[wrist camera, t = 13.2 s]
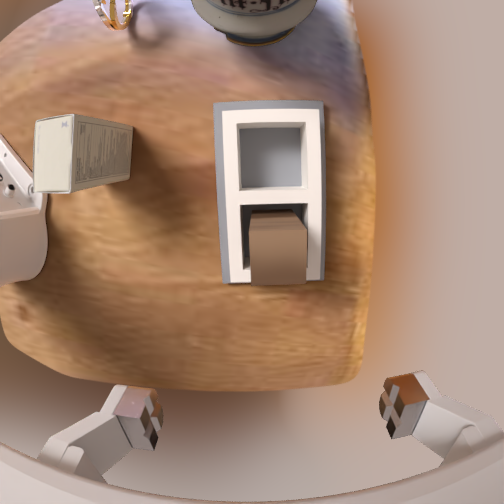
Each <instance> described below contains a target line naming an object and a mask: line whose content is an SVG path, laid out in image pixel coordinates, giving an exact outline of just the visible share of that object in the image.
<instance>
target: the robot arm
mask: <svg viewBox="0 0 504 504" xmlns="http://www.w3.org/2000/svg"><path fill="white" fill-rule="evenodd" d="M46 205H47V193H34V192H33V173H32V172H31V170H30V169H29V168H28V167H27V166H26V165H25V163H24V162H23V161H22V160H21V159H20V157H19V156H18V155H17V154H16V153H15V151H14V150H13V149H12V148H11V146H10V145H9V144H8V143H7V141H6V140H5V139H4V138H3V136H2V135H1V134H0V287H1V286H4V285H7V284H10V283H13V282H17V281H25V280H30V279H32V278H34V277H35V276H37V275H38V273H39V272H40V271H41V269H42V267H43V265H44V262H45V259H46V254H47V246H48V237H47V228H46V221H45V211H46ZM383 387H384V389H385V391H384V392H383V393H382V394H381V397H380V401H379V409H380V414H381V416H382V418H383V419H384V420H386V421H388V423H387V426H386V428H387V430H388V432H389V435H390V437H391V439H395V438H400V437H404V436H408V435H412V436H413V437H415V438H416V439H417V440H419V441H420V442H421V443H423V444H424V445H426V446H427V447H428V448H430V449H431V450H432V451H434V452H435V453H437V454H438V455H439V456H441V457H442V458H444V461H443V462H442V463H441V465H440V466H439V467H438V468H435V469H433V470H430V471H427V472H424V473H421V474H418V475H415V476H412V477H409V478H406V479H402V480H399V481H396V482H392V483H388V484H384V485H381V486H376V487H372V488H368V489H363V490H359V491H354V492H349V493H343V494H337V495H331V496H324V497H316V498H308V499H298V500H286V501H268V502H226V501H208V500H196V499H186V498H177V497H170V496H163V495H157V494H151V493H145V492H140V491H135V490H130V489H126V488H122V487H118V486H114V485H110V484H108V483H107V482H106V481H105V479H104V478H103V477H102V476H101V475H103V474H104V473H105V472H106V471H108V469H110V468H111V467H112V466H113V465H114V464H116V463H117V462H118V461H119V460H120V459H122V458H123V457H124V456H125V455H126V454H128V453H129V452H130V451H131V450H132V448H136V449H143V450H151V451H154V449H155V446H156V443H157V440H158V436H157V433H156V432H157V431H159V430H160V429H161V427H162V424H163V410H162V407H161V405H160V404H159V403H158V402H157V399H158V395H157V391H156V390H155V389H152V388H143V387H135V386H125V385H119V384H117V385H115V386H114V387H113V389H112V391H111V393H110V395H109V396H108V398H107V400H106V402H105V403H104V405H103V407H102V409H101V411H100V412H95V413H93V414H92V415H90V416H88V417H86V418H85V419H83V420H81V421H79V422H77V423H75V424H74V425H72V426H70V427H68V428H66V429H65V430H63V431H61V432H59V433H57V434H55V435H53V436H52V437H50V438H49V440H48V441H47V443H46V444H45V446H44V448H43V449H42V451H41V453H40V455H39V456H38V458H37V459H35V458H32V457H30V456H28V455H26V454H23V453H21V452H19V451H17V450H15V449H13V448H11V447H9V446H7V445H5V444H3V443H1V442H0V504H504V432H503V431H502V430H501V428H500V427H499V425H498V424H497V423H496V421H495V420H494V418H493V417H492V416H491V415H488V414H486V413H484V412H481V411H479V410H477V409H474V408H472V407H470V406H468V405H465V404H463V403H461V402H459V401H457V400H454V399H452V398H450V397H448V396H446V395H445V396H442V395H441V394H440V392H439V391H438V389H437V388H436V386H435V385H434V384H433V382H432V381H431V379H430V378H429V377H428V375H427V374H426V372H425V371H423V370H421V371H417V372H413V373H409V374H404V375H399V376H395V377H390V378H387V379H386V380H385V382H384V386H383Z"/></svg>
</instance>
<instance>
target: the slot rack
mask: <svg viewBox="0 0 504 504" xmlns="http://www.w3.org/2000/svg"><path fill="white" fill-rule="evenodd" d="M213 109H214V138H215V162H216V183H217V202H218V219H219V235H220V251H221V265H222V279H223V283H251V271H250V248H249V227H250V220H251V214H252V210H275V209H292V210H293V212H294V213H295V214H296V216H297V217H298V218H299V220H300V221H301V222H302V224H303V225H304V226H305V228H306V229H307V269H306V281H317V280H324V271H325V241H326V158H325V129H324V109H323V101H310V100H260V101H236V102H221V103H213Z"/></svg>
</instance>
